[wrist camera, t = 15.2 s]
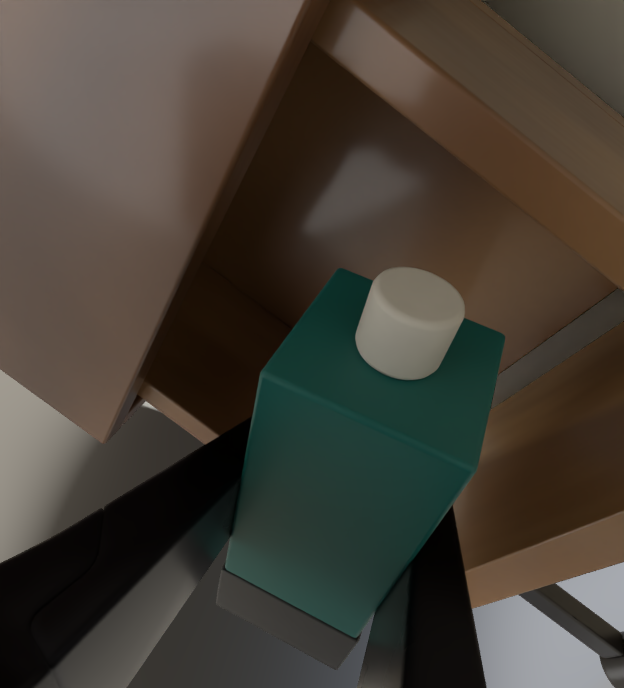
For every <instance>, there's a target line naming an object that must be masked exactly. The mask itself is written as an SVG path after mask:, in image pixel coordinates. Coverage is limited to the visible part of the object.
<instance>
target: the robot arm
mask: <svg viewBox="0 0 624 688" xmlns="http://www.w3.org/2000/svg"><path fill="white" fill-rule="evenodd" d="M251 420H252V416H251V417H250V418H248V419H246V420H245V421H243V422H241V423H240V424H238V425H236V426H235V427H233V428H232V429H230V430H228V431H227V432H225V433H223V434H222V435H220V436H218V437H217V438H215V439H213V440H212V441H210V442H209V443H207V444H205V445H204V446H202V447H200V448H199V449H197V450H195V451H194V452H192V453H191V454H189V455H187V456H186V457H184V458H182V459H181V460H179V461H177V462H176V463H174V464H173V465H171V466H169V467H168V468H166V469H165V470H163V471H161V472H160V473H158V474H156V475H155V476H153V477H151V478H150V479H148V480H146V481H145V482H143V483H141V484H140V485H138V486H136V487H135V488H133V489H132V490H130V491H128V492H127V493H125V494H123V495H122V496H120V497H118V498H117V499H115V500H114V501H112V502H110V503H109V504H107V505H106V506H105V507H104V510H103V509H102V508H101V509H98V510H97V511H95V512H94V513H92V514H90V515H89V516H87V517H85V518H84V519H82V520H81V521H79V522H77V523H75V524H74V525H72V526H70V527H68V528H67V529H65V530H63V531H61V532H60V533H58V534H56V535H54V536H53V537H51V538H49V539H47V540H46V541H43V542H41V543H39V544H38V545H36V546H34V547H32V548H30V549H28V550H26V551H24V552H22V553H20V554H18V555H16V556H14V557H12V558H10V559H8V560H6V561H4V562H2V563H0V688H126V687H127V686H128V685H129V683H130V682H131V680H132V679H133V677H134V676H135V674H136V673H137V671H138V670H139V669H140V667H141V665H142V664H143V663H144V661H145V660H146V658H147V657H148V655H149V654H150V653H151V651H152V650H153V648H154V646H155V645H156V644H157V642H158V641H159V639H160V638H161V637H162V635H163V633H164V632H165V631H166V629H167V628H168V626H169V625H170V623H171V622H172V621H173V619H174V618H175V616H176V615H177V613H178V612H179V610H180V609H181V607H182V606H183V605H184V603H185V602H186V600H187V599H188V597H189V596H190V594H191V593H192V591H193V590H194V589H195V587H196V586H197V584H198V583H199V581H200V580H201V578H202V577H203V575H204V574H205V572H206V571H207V570H208V568H209V567H210V565H211V564H212V562H213V561H214V559H215V558H216V556H217V555H218V553H219V552H220V551H221V549H222V548H223V546H224V545H225V543H226V542H227V541H228V539H229V538H230V536H231V531H232V526H233V521H234V515H235V510H236V504H237V499H238V493H239V488H240V482H241V476H242V470H243V464H244V459H245V453H246V448H247V442H248V437H249V431H250V426H251ZM357 688H486V682H485V677H484V672H483V666H482V661H481V656H480V650H479V644H478V639H477V634H476V629H475V623H474V618H473V613H472V606H471V601H470V596H469V590H468V585H467V579H466V574H465V568H464V563H463V557H462V552H461V547H460V541H459V536H458V530H457V525H456V519H455V514H454V509H453V505H452V506H451V508H450V509H449V511H448V512H447V513H446V515H445V516H444V518H443V519H442V520H441V522H440V523H439V525H438V526H437V527H436V529H435V530H434V531H433V533H432V534H431V536H430V537H429V538H428V540H427V541H426V543H425V544H424V545H423V547H422V548H421V550H420V551H419V552H418V554H417V555H416V556H415V558H414V559H413V560H412V561H411V563H410V564H409V565H408V567H407V568H406V570H405V571H404V572H403V574H402V575H401V576H400V578H399V579H398V581H397V582H396V583H395V585H394V586H393V588H392V589H391V590H390V592H389V593H388V595H387V596H386V597H385V599H384V600H383V602H382V603H381V604H380V606H379V607H378V608H377V610H376V611H375V615H374V619H373V623H372V627H371V631H370V636H369V640H368V644H367V648H366V652H365V656H364V661H363V665H362V669H361V673H360V677H359V681H358V686H357Z"/></svg>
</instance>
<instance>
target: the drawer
mask: <svg viewBox="0 0 624 688" xmlns="http://www.w3.org/2000/svg"><path fill="white" fill-rule="evenodd" d="M395 267H411V268H417V269H421V270H425V271H428V272H430V273H433V274H435V275H437V276H439V277H441V278H442V279H444V280H446V281H447V282H448V283H450V284H451V285H452V286H453V287H454V288H455V289H456V290H457V291H458V292H459V294H460V295H461V297H462V299H463V301H464V305H465V316H464V318H466V319H469V320H471V321H474V322H476V323H478V324H481V325H483V326H486V327H488V328H491V329H493V330H496V331H498V332H501V333H502V334H504V335H505V343H504V348H503V353H502V357H501V362H500V366H499V371H498V375H499V374H500V373H502V372H503V371H504V370H506V369H507V368H508V367H510V366H511V365H513V364H514V363H515V362H517V361H518V360H520V359H521V358H522V357H524V356H525V355H526V354H528V353H529V352H531V351H532V350H533V349H535V348H536V347H538V346H539V345H540V344H542V343H543V342H544V341H546V340H547V339H549V338H550V337H551V336H553V335H554V334H555V333H557V332H558V331H560V330H561V329H562V328H564V327H565V326H567V325H568V324H569V323H571V322H572V321H573V320H575V319H576V318H578V317H579V316H580V315H582V314H583V313H585V312H586V311H587V310H589V309H590V308H591V307H593V306H594V305H596V304H597V303H598V302H600V301H601V300H602V299H604V298H605V297H607V296H608V295H609V294H611V293H612V292H614V291H615V290H616V289H618V288H620V289H621V290H622V291H624V118H623V117H622V116H621V115H620V114H618V113H617V112H616V111H615V110H614V109H612V108H611V107H610V106H609V105H608V104H606V103H605V102H604V101H603V100H601V99H600V98H599V97H598V96H597V95H595V94H594V93H593V92H592V91H590V90H589V89H588V88H587V87H586V86H584V85H583V84H582V83H581V82H580V81H578V80H577V79H576V78H575V77H573V76H572V75H571V74H570V73H569V72H567V71H566V70H565V69H564V68H562V67H561V66H560V65H559V64H558V63H556V62H555V61H554V60H553V59H552V58H550V57H549V56H548V55H547V54H545V53H544V52H543V51H542V50H541V49H539V48H538V47H537V46H536V45H534V44H533V43H532V42H531V41H530V40H528V39H527V38H526V37H525V36H524V35H522V34H521V33H520V32H519V31H517V30H516V29H515V28H514V27H513V26H511V25H510V24H509V23H508V22H506V21H505V20H504V19H503V18H502V17H500V16H499V15H498V14H497V13H496V12H494V11H493V10H492V9H491V8H489V7H488V6H487V5H486V4H485V3H483V2H482V1H481V0H330V2H329V4H328V6H327V8H326V10H325V12H324V14H323V16H322V18H321V20H320V22H319V24H318V26H317V28H316V30H315V33H314V35H313V37H312V39H311V41H310V43H309V45H308V47H307V49H306V51H305V53H304V55H303V57H302V59H301V61H300V63H299V65H298V67H297V69H296V71H295V73H294V75H293V77H292V79H291V81H290V84H289V86H288V88H287V90H286V92H285V94H284V96H283V98H282V100H281V102H280V104H279V106H278V108H277V110H276V112H275V114H274V116H273V118H272V120H271V122H270V124H269V126H268V128H267V130H266V132H265V134H264V137H263V139H262V141H261V143H260V145H259V147H258V149H257V151H256V153H255V155H254V157H253V159H252V161H251V163H250V165H249V167H248V169H247V171H246V173H245V175H244V177H243V179H242V181H241V183H240V185H239V187H238V190H237V192H236V194H235V196H234V198H233V200H232V202H231V204H230V206H229V208H228V210H227V212H226V214H225V216H224V218H223V220H222V222H221V224H220V226H219V228H218V230H217V232H216V234H215V236H214V238H213V241H212V243H211V245H210V247H209V249H208V251H207V253H206V255H205V257H204V259H203V261H202V263H201V265H200V267H199V269H198V271H197V273H196V275H195V277H194V279H193V281H192V283H191V285H190V287H189V289H188V291H187V294H186V296H185V298H184V300H183V302H182V304H181V306H180V308H179V310H178V312H177V314H176V316H175V318H174V320H173V322H172V324H171V326H170V328H169V330H168V332H167V334H166V336H165V338H164V340H163V342H162V345H161V347H160V349H159V351H158V353H157V355H156V357H155V359H154V361H153V363H152V365H151V367H150V369H149V371H148V373H147V375H146V377H145V379H144V381H143V383H142V385H141V387H140V389H139V391H138V393H137V395H139V396H140V397H141V398H143V399H144V400H145V401H147V402H148V403H150V404H151V405H152V406H154V407H155V408H156V409H158V410H159V411H160V412H162V413H163V414H165V415H166V416H167V417H169V418H170V419H171V420H173V421H174V422H175V423H177V424H178V425H179V426H181V427H182V428H183V429H185V430H186V431H188V432H189V433H190V434H192V435H193V436H195V437H196V438H197V439H198V440H200V441H202V443H204V444H207V443H209V442H210V441H212V440H213V439H215V438H217V437H218V436H220V435H222V434H223V433H225V432H227V431H228V430H230V429H232V428H233V427H235V426H236V425H238V424H240V423H241V422H243V421H245V420H246V419H248V418H250V417H251V416H252V415H253V409H254V404H255V398H256V393H257V387H258V382H259V376H260V372H261V371H262V369H263V368H264V367H265V365H266V364H267V363H268V361H269V360H270V359H271V357H272V356H273V354H274V353H275V352H276V350H277V349H278V348H279V346H280V345H281V344H282V342H283V341H284V340H285V338H286V337H287V336H288V334H289V333H290V332H291V330H292V329H293V328H294V326H295V325H296V324H297V322H298V321H299V320H300V318H301V317H302V316H303V314H304V313H305V311H306V310H307V309H308V307H309V306H310V305H311V303H312V302H313V301H314V299H315V298H316V297H317V295H318V294H319V293H320V291H321V290H322V289H323V287H324V286H325V285H326V283H327V282H328V281H329V279H330V278H331V277H332V275H333V274H334V273H335V271H336V270H337V269H338V268H344V269H346V270H349V271H351V272H353V273H356V274H358V275H361V276H363V277H366V278H368V279H371V280H373V281H374V280H375V278H376V277H377V276H378V275H379V274H381V273H382V272H383V271H385V270H387V269H390V268H395ZM453 509H454V514H455V519H456V525H457V530H458V536H459V541H460V547H461V552H462V557H463V563H464V568H465V574H466V579H467V585H468V590H469V596H470V601H471V606H472V609H473V608H476V607H480V606H482V605H486V604H489V603H492V602H495V601H499V600H502V599H505V598H509V597H512V596H515V595H519V596H521V597H522V598H524V599H525V600H526V601H527V602H529V603H530V604H532V605H533V606H534V607H536V608H537V609H538V610H540V611H541V612H543V613H544V614H545V615H546V616H548V617H549V618H550V619H552V620H553V621H554V622H556V623H557V624H558V625H560V626H561V627H562V628H564V629H565V630H566V631H568V632H569V633H570V634H572V635H573V636H574V637H576V638H577V639H578V640H580V641H581V642H582V643H584V644H585V645H586V646H588V647H589V648H590V649H592V650H593V651H595V652H596V653H597V654H598V655H600V661H601V664H602V667H603V669H604V672H605V674H606V676H607V678H608V679H609V681H610V682H611V684H612V685H613V686H614V687H615V688H624V632H619V631H618V630H616V629H615V628H614V627H612V626H611V625H610V624H608V623H607V622H606V621H604V620H603V619H602V618H600V617H599V616H598V615H597V614H595V613H594V612H593V611H591V610H590V609H589V608H587V607H586V606H585V605H583V604H582V603H581V602H579V601H578V600H577V599H575V598H574V597H573V596H571V595H570V594H568V593H567V592H566V591H565V590H563V589H562V588H561V587H559V586H558V585H557V584H555V583H557V582H560V581H563V580H567V579H570V578H573V577H576V576H580V575H583V574H586V573H590V572H593V571H596V570H599V569H603V568H606V567H609V566H612V565H615V564H618V563H622V562H624V321H623V322H622V323H620V324H619V325H617V326H616V327H614V328H613V329H611V330H610V331H608V332H607V333H605V334H604V335H602V336H601V337H599V338H598V339H596V340H595V341H593V342H592V343H590V344H589V345H587V346H586V347H584V348H583V349H581V350H580V351H578V352H577V353H575V354H574V355H572V356H571V357H569V358H568V359H566V360H565V361H563V362H562V363H560V364H559V365H557V366H556V367H554V368H553V369H551V370H550V371H548V372H547V373H545V374H544V375H542V376H541V377H539V378H538V379H536V380H535V381H533V382H532V383H530V384H529V385H527V386H526V387H524V388H523V389H521V390H520V391H518V392H517V393H515V394H514V395H512V396H511V397H509V398H508V399H506V400H505V401H503V402H502V403H500V404H499V405H497V406H496V407H494V408H493V409H491V410H490V413H489V417H488V422H487V426H486V431H485V436H484V440H483V445H482V450H481V454H480V459H479V463H478V468H477V472H476V473H475V474H474V476H473V477H472V479H471V480H470V481H469V483H468V484H467V486H466V487H465V488H464V490H463V491H462V493H461V494H460V495H459V497H458V498H457V500H456V501H455V502H454V504H453Z"/></svg>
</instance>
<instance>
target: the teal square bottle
mask: <svg viewBox="0 0 624 688" xmlns="http://www.w3.org/2000/svg"><path fill="white" fill-rule="evenodd" d="M464 316H465V305H464V301H463V299H462V297H461V295H460V294H459V292H458V291H457V290H456V289H455V288H454V287H453V286H452V285H451V284H450V283H448V282H447V281H446V280H444V279H442V278H441V277H439V276H437V275H435V274H433V273H430V272H428V271H425V270H421V269H417V268H411V267H395V268H390V269H387V270H385V271H383V272H382V273H381V274H379V275H378V276H377V277H376V278H375V280H374V281H373V280H371V279H368V278H366V277H363V276H361V275H358V274H356V273H353V272H351V271H349V270H346V269H344V268H338V269H337V270H336V271H335V273H334V274H333V275H332V277H331V278H330V279H329V281H328V282H327V283H326V285H325V286H324V287H323V289H322V290H321V291H320V293H319V294H318V295H317V297H316V298H315V299H314V301H313V302H312V303H311V305H310V306H309V307H308V309H307V310H306V311H305V313H304V314H303V316H302V317H301V318H300V320H299V321H298V322H297V324H296V325H295V326H294V328H293V329H292V330H291V332H290V333H289V334H288V336H287V337H286V338H285V340H284V341H283V342H282V344H281V345H280V346H279V348H278V349H277V350H276V352H275V353H274V354H273V356H272V357H271V359H270V360H269V361H268V363H267V364H266V365H265V367H264V368H263V369H262V371H261V372H260V376H259V382H258V387H257V393H256V398H255V404H254V409H253V415H252V420H251V426H250V431H249V437H248V442H247V448H246V453H245V459H244V464H243V470H242V476H241V482H240V488H239V493H238V499H237V504H236V510H235V515H234V521H233V526H232V531H231V536H230V542H229V547H228V553H227V558H226V561H225V563H224V564H223V566H222V569H221V575H220V581H219V586H218V592H217V598H216V604H217V605H218V606H220V607H222V608H224V609H225V610H227V611H229V612H231V613H233V614H234V615H236V616H238V617H240V618H242V619H243V620H245V621H247V622H249V623H251V624H253V625H255V626H256V627H258V628H260V629H262V630H263V631H265V632H267V633H269V634H271V635H273V636H274V637H276V638H278V639H280V640H282V641H283V642H285V643H287V644H289V645H291V646H293V647H294V648H296V649H298V650H300V651H302V652H304V653H305V654H307V655H309V656H311V657H313V658H314V659H316V660H318V661H320V662H322V663H324V664H325V665H327V666H329V667H331V668H333V669H335V670H338V668H339V667H340V666H341V664H342V663H343V662H344V660H345V659H346V658H347V656H348V655H349V654H350V652H351V651H352V649H353V648H354V647H355V645H356V644H357V643H358V641H359V639H360V636H361V633H362V630H363V629H364V627H365V626H366V625H367V623H368V622H369V620H370V619H371V618H372V616H373V615H374V613H375V611H376V610H377V608H378V607H379V606H380V604H381V603H382V602H383V600H384V599H385V597H386V596H387V595H388V593H389V592H390V590H391V589H392V588H393V586H394V585H395V583H396V582H397V581H398V579H399V578H400V576H401V575H402V574H403V572H404V571H405V570H406V568H407V567H408V565H409V564H410V563H411V561H412V560H413V559H414V558H415V556H416V555H417V554H418V552H419V551H420V550H421V548H422V547H423V545H424V544H425V543H426V541H427V540H428V538H429V537H430V536H431V534H432V533H433V531H434V530H435V529H436V527H437V526H438V525H439V523H440V522H441V520H442V519H443V518H444V516H445V515H446V513H447V512H448V511H449V509H450V508H451V506H452V505H453V504H454V502H455V501H456V500H457V498H458V497H459V495H460V494H461V493H462V491H463V490H464V488H465V487H466V486H467V484H468V483H469V481H470V480H471V479H472V477H473V476H474V474H475V473H476V472H477V468H478V463H479V459H480V454H481V450H482V445H483V440H484V436H485V431H486V426H487V422H488V417H489V413H490V408H491V403H492V399H493V394H494V389H495V385H496V380H497V376H498V371H499V366H500V362H501V357H502V353H503V348H504V343H505V335H504V334H502V333H501V332H498V331H496V330H493V329H491V328H488V327H486V326H483V325H481V324H478V323H476V322H474V321H471V320H469V319H466V318H464Z"/></svg>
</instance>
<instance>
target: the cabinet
mask: <svg viewBox="0 0 624 688" xmlns="http://www.w3.org/2000/svg"><path fill="white" fill-rule="evenodd" d="M329 2H330V0H0V369H1V370H2V371H3V372H5V373H6V374H7V375H9V376H10V377H12V378H13V379H14V380H16V381H17V382H18V383H20V384H21V385H23V386H24V387H25V388H27V389H28V390H30V391H31V392H32V393H34V394H35V395H36V396H38V397H39V398H40V399H42V400H44V401H45V402H46V403H47V404H49V405H50V406H52V407H53V408H54V409H56V410H57V411H58V412H60V413H61V414H62V415H64V416H65V417H67V418H68V419H69V420H71V421H72V422H74V423H75V424H76V425H77V426H79V427H81V428H82V429H83V430H84V431H86V432H87V433H88V434H90V435H91V436H93V437H94V438H95V439H97V440H98V441H100V442H101V443H103V444H104V443H106V442H107V441H108V440H109V439H110V438H111V437H112V436H113V435H114V434H115V433H116V432H117V431H118V430H119V429H120V427H121V426H122V424H124V423H125V422H126V421H127V420H128V419H129V418H130V417H131V416H132V415H133V414H134V413H135V412H136V411H137V410H138V409H139V408H140V407H141V406H142V404H143V403H144V402H145V400H144V399H143V398H141V397H140V396H139V395H137V393H138V391H139V389H140V387H141V385H142V383H143V381H144V379H145V377H146V375H147V373H148V371H149V369H150V367H151V365H152V363H153V361H154V359H155V357H156V355H157V353H158V351H159V349H160V347H161V345H162V342H163V340H164V338H165V336H166V334H167V332H168V330H169V328H170V326H171V324H172V322H173V320H174V318H175V316H176V314H177V312H178V310H179V308H180V306H181V304H182V302H183V300H184V298H185V296H186V294H187V291H188V289H189V287H190V285H191V283H192V281H193V279H194V277H195V275H196V273H197V271H198V269H199V267H200V265H201V263H202V261H203V259H204V257H205V255H206V253H207V251H208V249H209V247H210V245H211V243H212V241H213V238H214V236H215V234H216V232H217V230H218V228H219V226H220V224H221V222H222V220H223V218H224V216H225V214H226V212H227V210H228V208H229V206H230V204H231V202H232V200H233V198H234V196H235V194H236V192H237V190H238V187H239V185H240V183H241V181H242V179H243V177H244V175H245V173H246V171H247V169H248V167H249V165H250V163H251V161H252V159H253V157H254V155H255V153H256V151H257V149H258V147H259V145H260V143H261V141H262V139H263V137H264V134H265V132H266V130H267V128H268V126H269V124H270V122H271V120H272V118H273V116H274V114H275V112H276V110H277V108H278V106H279V104H280V102H281V100H282V98H283V96H284V94H285V92H286V90H287V88H288V86H289V84H290V81H291V79H292V77H293V75H294V73H295V71H296V69H297V67H298V65H299V63H300V61H301V59H302V57H303V55H304V53H305V51H306V49H307V47H308V45H309V43H310V41H311V39H312V37H313V35H314V33H315V30H316V28H317V26H318V24H319V22H320V20H321V18H322V16H323V14H324V12H325V10H326V8H327V6H328V4H329Z"/></svg>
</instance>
